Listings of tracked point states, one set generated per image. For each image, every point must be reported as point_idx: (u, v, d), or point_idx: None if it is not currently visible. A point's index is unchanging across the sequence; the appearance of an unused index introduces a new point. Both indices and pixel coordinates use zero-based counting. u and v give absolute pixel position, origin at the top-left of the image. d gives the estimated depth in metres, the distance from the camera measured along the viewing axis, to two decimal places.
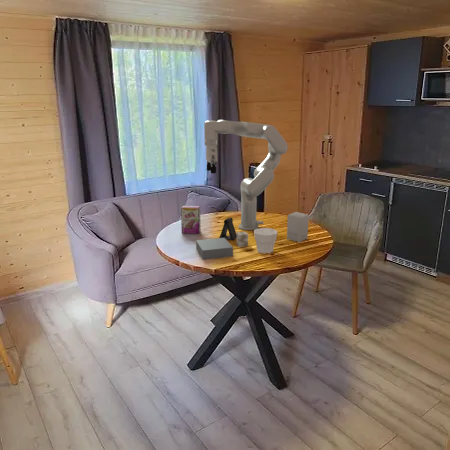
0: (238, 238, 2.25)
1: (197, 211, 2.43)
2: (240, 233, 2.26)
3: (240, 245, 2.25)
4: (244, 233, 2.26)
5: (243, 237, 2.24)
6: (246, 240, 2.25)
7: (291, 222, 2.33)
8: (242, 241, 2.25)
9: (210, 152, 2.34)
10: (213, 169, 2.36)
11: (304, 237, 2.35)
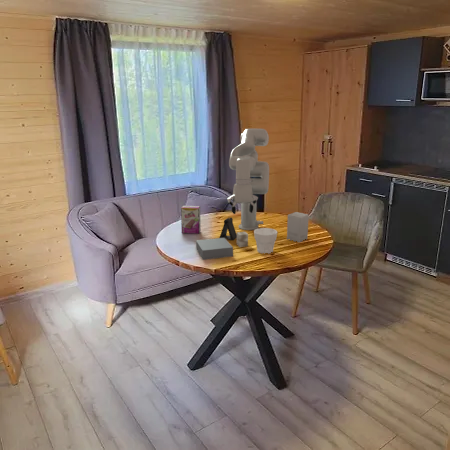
0: (238, 238, 2.25)
1: (197, 211, 2.43)
2: (240, 233, 2.26)
3: (240, 245, 2.25)
4: (244, 233, 2.26)
5: (243, 237, 2.24)
6: (246, 240, 2.25)
7: (291, 222, 2.33)
8: (242, 241, 2.25)
9: (251, 191, 2.19)
10: None
11: (304, 237, 2.35)
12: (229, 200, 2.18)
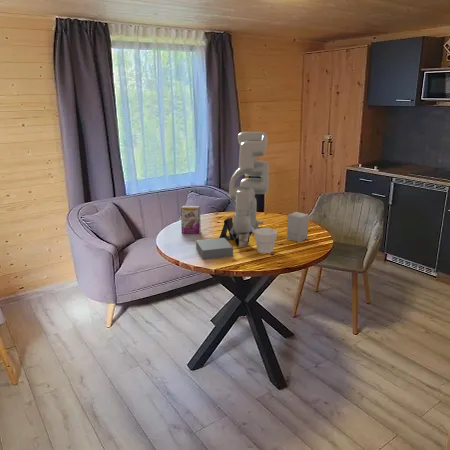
0: None
1: (197, 211, 2.43)
2: (240, 233, 2.26)
3: (240, 245, 2.25)
4: (244, 233, 2.26)
5: (243, 237, 2.24)
6: (246, 240, 2.25)
7: (291, 222, 2.33)
8: (242, 241, 2.25)
9: (251, 221, 2.24)
10: None
11: (304, 237, 2.35)
12: (232, 232, 2.24)
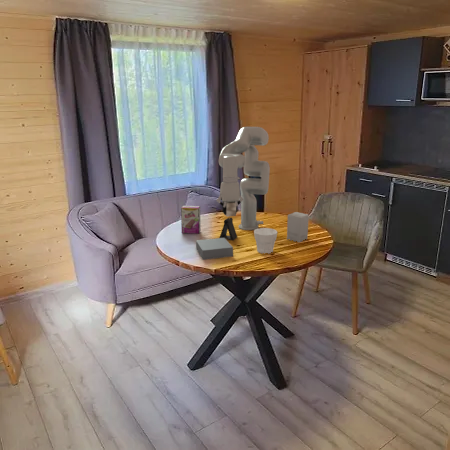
0: (226, 207, 2.15)
1: (197, 211, 2.43)
2: (228, 202, 2.15)
3: (228, 214, 2.14)
4: (232, 202, 2.15)
5: (231, 206, 2.13)
6: (234, 209, 2.14)
7: (291, 222, 2.33)
8: (230, 210, 2.14)
9: None
10: None
11: (304, 237, 2.35)
12: (219, 201, 2.13)
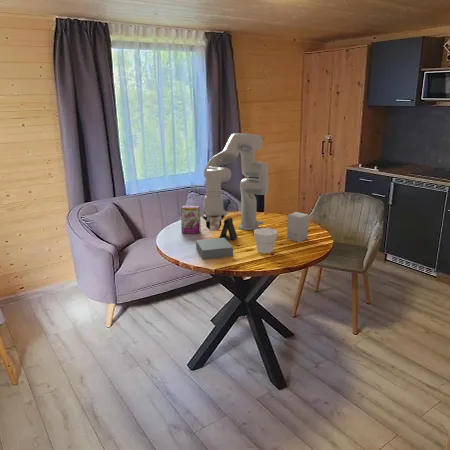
0: (209, 221, 2.10)
1: (197, 211, 2.43)
2: (211, 216, 2.11)
3: (211, 229, 2.10)
4: (215, 216, 2.11)
5: (214, 220, 2.09)
6: (217, 223, 2.10)
7: (291, 222, 2.33)
8: (213, 224, 2.10)
9: None
10: None
11: (304, 237, 2.35)
12: (202, 215, 2.09)
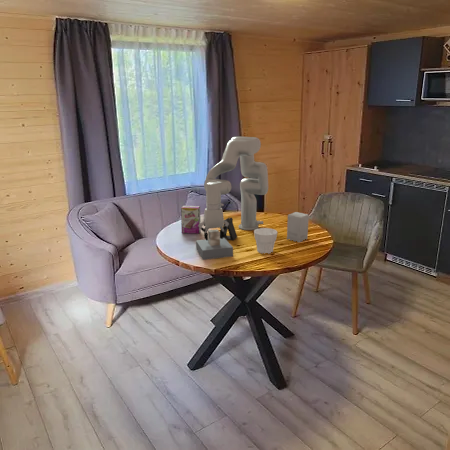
0: (209, 236, 2.13)
1: (197, 211, 2.43)
2: (211, 231, 2.13)
3: (211, 244, 2.13)
4: (216, 231, 2.13)
5: (215, 235, 2.12)
6: (218, 238, 2.13)
7: (291, 222, 2.33)
8: (214, 239, 2.12)
9: None
10: None
11: (304, 237, 2.35)
12: (200, 226, 2.10)
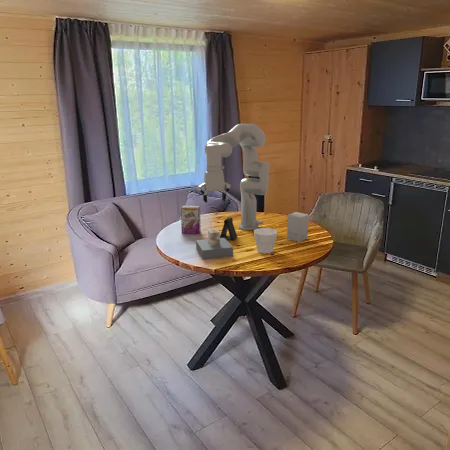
0: (209, 236, 2.13)
1: (197, 211, 2.43)
2: (211, 231, 2.13)
3: (211, 244, 2.13)
4: (216, 231, 2.13)
5: (215, 235, 2.12)
6: (218, 238, 2.13)
7: (291, 222, 2.33)
8: (214, 239, 2.12)
9: (223, 178, 2.09)
10: None
11: (304, 237, 2.35)
12: (200, 188, 2.08)
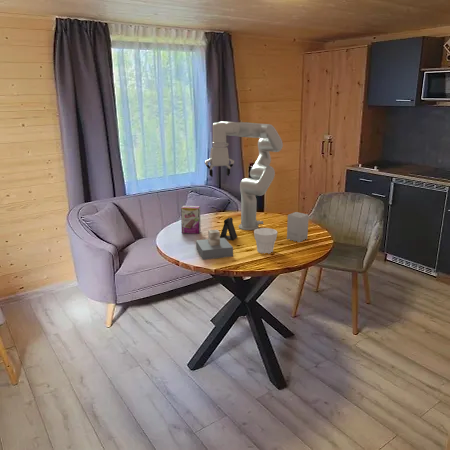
0: (209, 236, 2.13)
1: (197, 211, 2.43)
2: (211, 231, 2.13)
3: (211, 244, 2.13)
4: (216, 231, 2.13)
5: (215, 235, 2.12)
6: (218, 238, 2.13)
7: (291, 222, 2.33)
8: (214, 239, 2.12)
9: None
10: None
11: (304, 237, 2.35)
12: (206, 163, 2.27)
